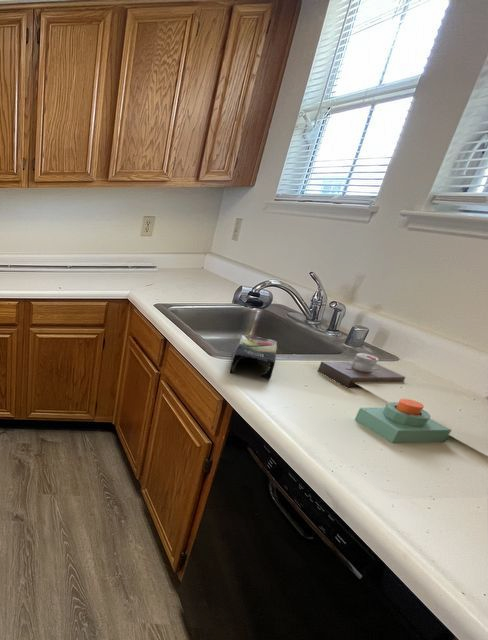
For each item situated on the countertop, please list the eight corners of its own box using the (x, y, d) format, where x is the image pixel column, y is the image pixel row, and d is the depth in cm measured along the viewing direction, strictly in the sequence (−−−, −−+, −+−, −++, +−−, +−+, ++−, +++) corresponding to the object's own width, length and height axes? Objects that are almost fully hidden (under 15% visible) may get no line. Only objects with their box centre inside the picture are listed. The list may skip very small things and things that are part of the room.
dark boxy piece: (235, 349, 127) (240, 330, 124) (272, 357, 122) (279, 337, 119) (227, 373, 112) (233, 353, 109) (269, 383, 107) (277, 362, 104)
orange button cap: (407, 407, 87) (411, 398, 86) (424, 416, 84) (429, 407, 83) (390, 407, 87) (395, 398, 86) (407, 416, 84) (411, 407, 83)
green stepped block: (402, 418, 92) (412, 399, 90) (444, 442, 84) (456, 421, 81) (354, 419, 91) (363, 399, 89) (391, 443, 83) (402, 422, 81)
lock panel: (366, 370, 114) (371, 360, 113) (400, 387, 105) (406, 376, 104) (317, 371, 114) (321, 360, 112) (347, 388, 105) (352, 377, 103)
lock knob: (347, 365, 110) (352, 351, 108) (363, 365, 110) (369, 352, 108) (360, 372, 106) (366, 358, 104) (377, 372, 106) (383, 358, 104)
